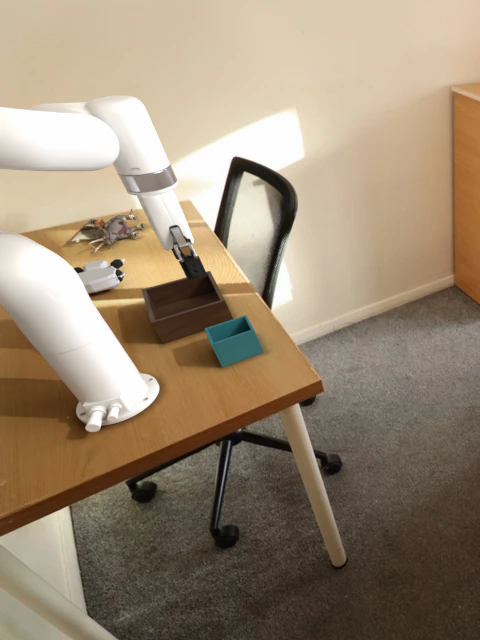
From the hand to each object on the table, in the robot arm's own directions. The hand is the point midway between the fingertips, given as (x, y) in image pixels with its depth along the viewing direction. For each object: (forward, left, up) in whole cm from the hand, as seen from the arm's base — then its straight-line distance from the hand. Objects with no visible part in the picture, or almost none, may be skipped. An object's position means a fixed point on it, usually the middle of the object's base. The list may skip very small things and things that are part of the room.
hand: (191, 267), depth 90 cm
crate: (+13, +7, -18) cm, 23 cm away
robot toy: (+36, +29, -18) cm, 50 cm away
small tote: (-5, -3, -18) cm, 19 cm away
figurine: (+63, +32, -18) cm, 73 cm away
